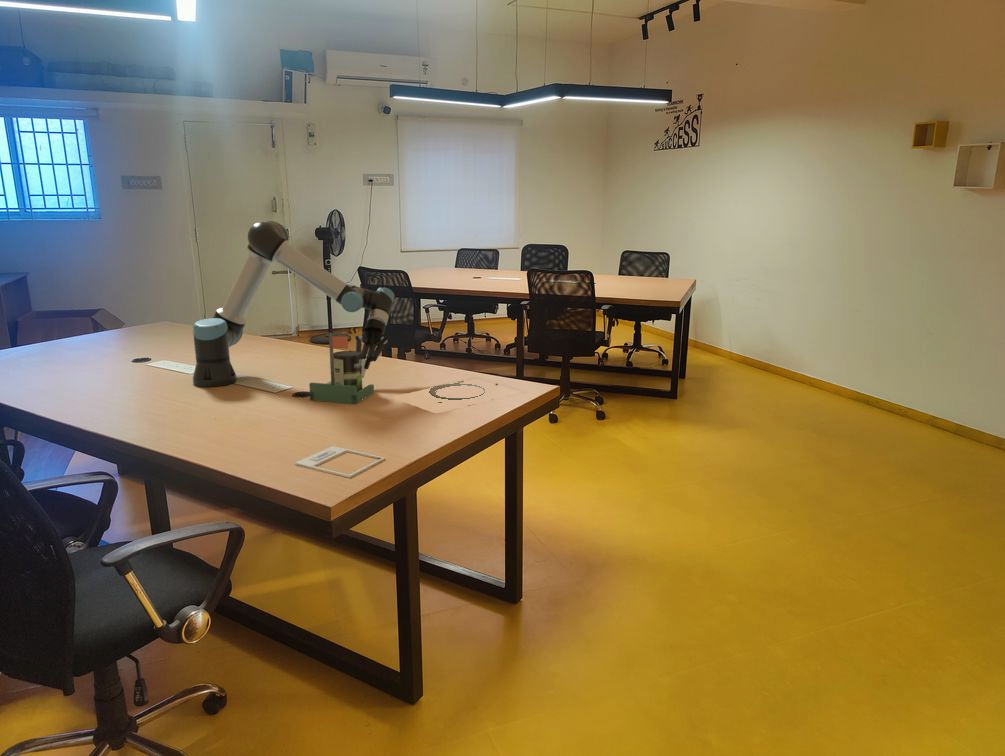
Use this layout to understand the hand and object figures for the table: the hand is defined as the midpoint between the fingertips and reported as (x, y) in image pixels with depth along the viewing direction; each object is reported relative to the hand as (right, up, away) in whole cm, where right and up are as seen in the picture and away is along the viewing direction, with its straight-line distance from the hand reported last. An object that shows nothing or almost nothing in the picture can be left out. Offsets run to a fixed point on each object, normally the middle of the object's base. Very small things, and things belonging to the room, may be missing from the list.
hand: (360, 375), depth 245 cm
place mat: (+36, -8, -4) cm, 37 cm away
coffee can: (-4, -6, -3) cm, 8 cm away
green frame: (-4, -7, -9) cm, 13 cm away
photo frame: (+10, -24, -70) cm, 75 cm away
